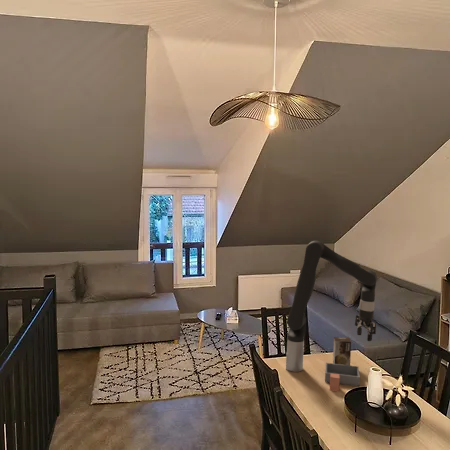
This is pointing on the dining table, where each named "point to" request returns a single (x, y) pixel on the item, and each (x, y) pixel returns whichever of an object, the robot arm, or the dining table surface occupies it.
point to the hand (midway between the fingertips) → (364, 337)
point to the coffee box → (342, 351)
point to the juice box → (334, 382)
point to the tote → (343, 373)
